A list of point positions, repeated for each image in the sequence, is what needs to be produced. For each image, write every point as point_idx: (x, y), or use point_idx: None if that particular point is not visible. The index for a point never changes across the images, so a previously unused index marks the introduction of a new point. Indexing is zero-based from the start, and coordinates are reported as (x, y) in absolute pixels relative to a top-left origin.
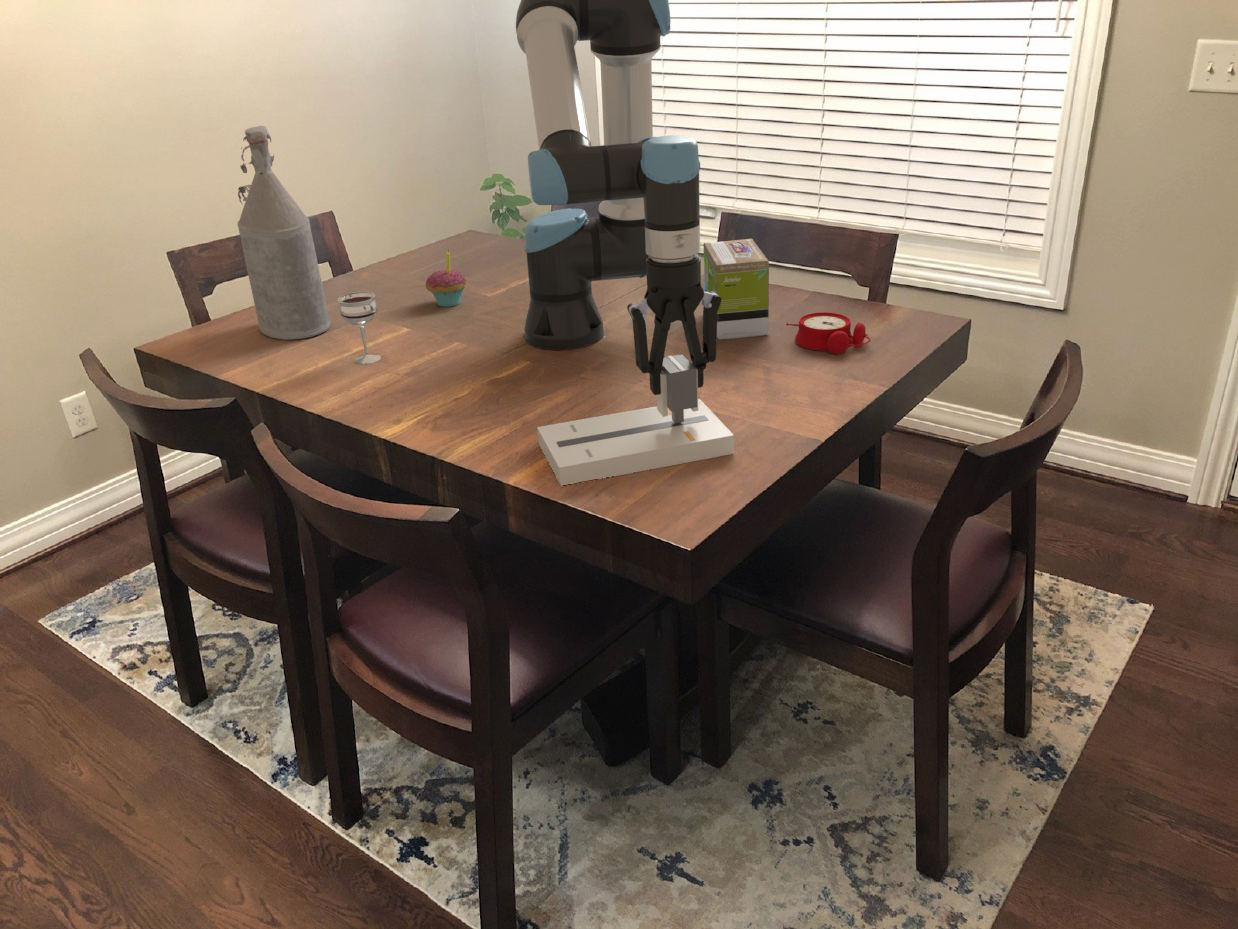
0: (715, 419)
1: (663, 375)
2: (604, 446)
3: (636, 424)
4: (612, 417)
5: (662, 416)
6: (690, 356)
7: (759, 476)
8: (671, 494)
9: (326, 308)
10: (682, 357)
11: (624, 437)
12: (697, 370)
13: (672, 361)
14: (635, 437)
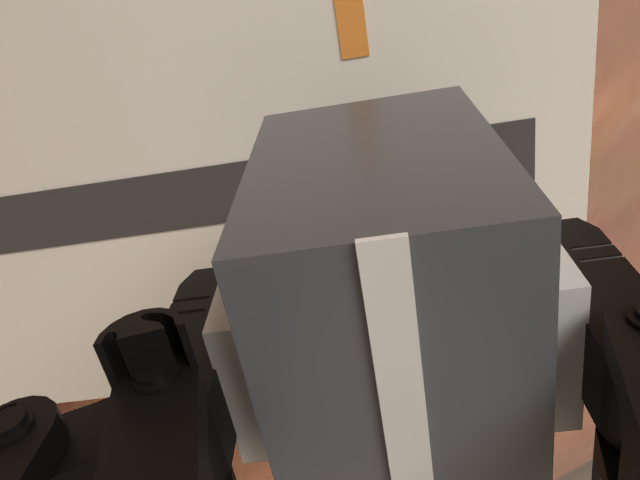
0: (570, 178)
1: (260, 461)
2: (5, 318)
3: (147, 138)
4: (1, 6)
5: (301, 71)
6: (613, 367)
7: (560, 438)
8: (266, 470)
9: None
10: (528, 300)
11: (90, 258)
12: (578, 426)
13: (377, 397)
14: (142, 270)
